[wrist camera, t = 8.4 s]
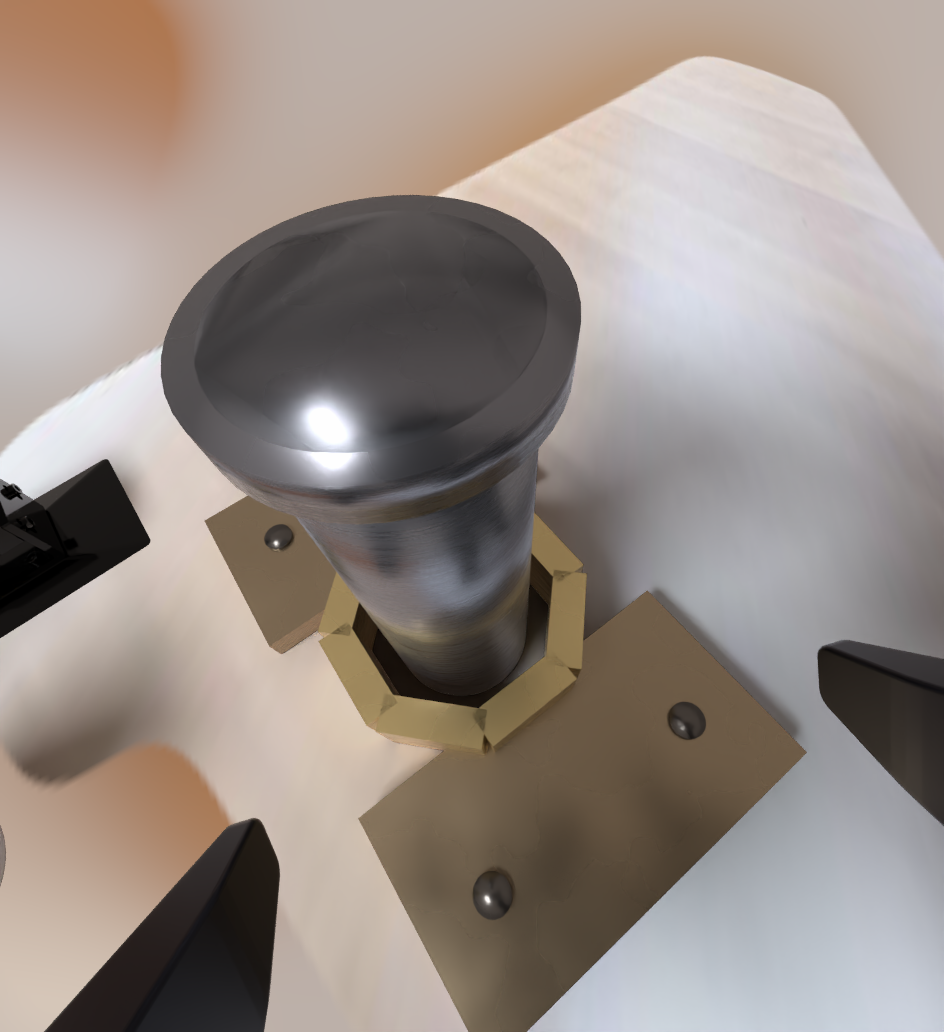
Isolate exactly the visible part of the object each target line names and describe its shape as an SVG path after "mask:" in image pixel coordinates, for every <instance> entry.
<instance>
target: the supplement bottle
mask: <svg viewBox="0 0 944 1032" xmlns="http://www.w3.org/2000/svg"><path fill="white" fill-rule="evenodd" d="M5 860H6V849H5V840H4V835H3V832H2V829H1V826H0V885H1V882H2V878H3V874H4V868H5Z"/></svg>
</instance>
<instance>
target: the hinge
mask: <svg viewBox="0 0 944 1032" xmlns="http://www.w3.org/2000/svg"><path fill="white" fill-rule="evenodd" d="M205 523H206V525H207V526H208V528H209V530H210V532H211V534H212V536H213V538H214V540H215V542H216V544H217V546H218V548H219V550H220V552H221V554H222V555H223V557H224V559H225V561H226V563H227V565H228V567H229V569H230V571H231V573H232V575H233V577H234V579H235V581H236V583H237V585H238V586H239V588H240V590H241V592H242V594H243V596H244V598H245V600H246V602H247V604H248V606H249V608H250V610H251V612H252V614H253V615H254V617H255V619H256V621H257V623H258V625H259V627H260V629H261V631H262V633H263V635H264V637H265V639H266V641H267V643H268V645H269V646H270V647H271V648H273V649H274V650H276V651H277V652H279V653H280V654H282V653H284V652H285V651H287V650H288V649H290V648H291V647H293V646H294V645H296V644H297V643H299V642H300V641H302V640H303V639H305V638H306V637H308V636H309V635H311V634H312V633H314V632H315V631H317V630H318V632H319V633H320V634H321V635H322V636H323V637H324V638H323V639H321V640H320V641H319V643H320V645H321V647H322V648H323V650H324V652H325V654H326V655H327V657H328V659H329V661H330V662H331V664H332V666H333V668H334V669H335V671H336V673H337V675H338V676H339V678H340V680H341V682H342V683H343V685H344V687H345V689H346V690H347V692H348V694H349V696H350V697H351V699H352V701H353V703H354V704H355V706H356V708H357V710H358V711H359V713H360V715H361V717H362V718H363V720H364V722H365V724H366V725H367V726H368V727H370V728H372V729H374V730H375V731H376V732H377V733H379V734H381V735H383V736H384V737H386V738H388V739H390V740H391V741H393V742H396V743H402V744H408V745H414V746H420V747H426V748H431V749H437V750H443V752H442V753H441V754H439V755H438V756H437V757H436V758H434V759H433V760H432V761H431V762H429V763H428V764H427V765H426V766H424V767H423V768H422V769H420V770H419V771H418V772H417V773H415V774H414V775H413V776H412V777H410V778H409V779H408V780H407V781H405V782H404V783H403V784H401V785H400V786H399V787H398V788H396V789H395V790H394V791H393V792H391V793H390V794H389V795H388V796H386V797H385V798H384V799H382V800H381V801H380V802H379V803H377V804H376V805H375V806H374V807H372V808H371V809H370V810H368V811H367V812H366V813H365V814H363V815H362V816H361V817H360V818H358V819H359V821H360V823H361V825H362V826H363V828H364V830H365V832H366V834H367V836H368V838H369V840H370V842H371V844H372V846H373V848H374V850H375V852H376V854H377V855H378V857H379V859H380V861H381V863H382V865H383V867H384V869H385V871H386V873H387V875H388V877H389V879H390V881H391V883H392V885H393V886H394V888H395V890H396V892H397V894H398V896H399V898H400V900H401V902H402V904H403V906H404V908H405V910H406V912H407V914H408V915H409V917H410V919H411V921H412V923H413V925H414V927H415V929H416V931H417V933H418V935H419V937H420V939H421V941H422V943H423V945H424V946H425V948H426V950H427V952H428V954H429V956H430V958H431V960H432V962H433V964H434V966H435V968H436V970H437V972H438V974H439V976H440V977H441V979H442V981H443V983H444V985H445V987H446V989H447V991H448V993H449V995H450V997H451V999H452V1001H453V1003H454V1005H455V1006H456V1008H457V1010H458V1012H459V1014H460V1016H461V1018H462V1020H463V1022H464V1024H465V1026H466V1028H467V1030H468V1032H527V1031H528V1030H529V1029H530V1028H531V1027H532V1026H533V1025H534V1024H535V1023H536V1022H537V1021H538V1020H539V1019H540V1018H541V1017H542V1016H543V1015H544V1014H545V1013H546V1012H547V1011H548V1010H549V1009H550V1008H551V1007H552V1006H553V1005H554V1004H555V1003H556V1002H557V1001H558V1000H559V999H560V998H561V997H562V996H563V995H564V994H565V993H566V992H567V991H568V990H569V989H570V988H571V987H572V986H573V985H574V984H575V983H576V982H577V981H578V980H579V979H580V978H581V977H582V976H583V975H584V974H585V973H586V972H587V971H588V970H589V969H590V968H591V967H592V966H593V965H594V964H595V963H596V962H597V961H598V960H599V959H600V958H601V957H602V956H603V955H604V954H605V953H606V952H607V951H608V950H609V949H610V948H611V947H612V946H613V945H614V944H615V943H616V942H617V941H618V940H619V939H620V938H621V937H622V936H623V935H624V934H625V933H626V932H627V931H628V930H629V929H630V928H631V927H632V926H633V925H634V924H635V923H636V922H637V921H638V920H639V919H640V918H641V917H642V916H643V915H644V914H645V913H646V912H647V911H648V910H649V909H650V908H651V907H652V906H653V905H654V904H655V903H656V902H657V901H658V900H659V899H660V898H661V897H662V896H663V895H664V894H665V893H666V892H667V891H668V890H669V889H670V888H671V887H672V886H673V885H674V884H675V883H676V882H677V881H678V880H679V879H680V878H681V877H682V876H683V875H684V874H685V873H686V872H687V871H688V870H689V869H690V868H691V867H692V866H693V865H694V864H695V863H696V862H697V861H698V860H699V859H701V858H702V857H703V856H704V855H705V854H706V853H707V852H708V851H709V850H710V849H711V848H712V847H713V846H714V845H715V844H716V843H717V842H718V841H719V840H720V839H721V838H722V837H723V836H724V835H725V834H726V833H727V832H728V831H729V830H730V829H731V828H732V827H733V826H734V825H735V824H736V823H737V822H738V821H739V820H740V819H741V818H742V817H743V816H744V815H745V814H746V813H747V812H748V811H749V810H750V809H751V808H752V807H753V806H754V805H755V804H756V803H757V802H758V801H759V800H760V799H761V798H762V797H763V796H764V795H765V794H766V793H767V792H768V791H769V790H770V789H771V788H772V787H773V786H774V785H775V784H776V783H777V782H778V781H779V780H780V779H781V778H782V777H783V776H784V775H785V774H786V773H787V772H788V771H789V770H790V769H791V768H792V767H793V766H794V765H795V764H796V763H797V762H798V761H799V760H800V759H801V758H802V757H803V756H804V755H805V754H806V753H807V752H806V751H805V750H804V749H803V748H802V747H801V746H800V745H799V744H798V743H797V742H796V741H795V740H794V739H793V738H792V737H791V736H790V735H789V734H788V733H787V732H786V731H785V730H784V729H783V728H782V727H781V726H780V725H779V724H778V723H777V722H776V721H775V720H774V719H773V718H772V716H771V715H770V714H769V713H768V712H767V711H766V710H765V709H764V708H763V707H762V706H761V705H760V704H759V703H758V702H757V701H756V700H755V699H754V698H753V697H752V696H751V695H750V694H749V693H748V692H747V691H746V690H745V689H744V688H743V687H742V686H741V685H740V684H739V683H738V682H737V681H736V680H735V679H734V678H733V677H732V676H731V675H730V674H729V673H728V672H727V671H726V670H725V669H724V668H723V667H722V666H721V665H720V664H719V663H718V662H717V661H716V660H715V659H714V658H713V657H712V656H711V655H710V654H709V653H708V652H707V651H706V650H705V649H704V648H703V646H702V645H701V644H700V643H699V642H698V641H697V640H696V639H695V638H694V637H693V636H692V635H691V634H690V633H689V632H688V631H687V630H686V629H685V628H684V627H683V626H682V625H681V624H680V623H679V622H678V621H677V620H676V619H675V618H674V617H673V616H672V615H671V614H670V613H669V612H668V611H667V610H666V609H665V608H664V607H663V606H662V605H661V604H660V603H659V602H658V601H657V600H656V599H655V598H654V597H653V596H652V595H651V594H650V593H649V592H648V591H646V592H645V593H644V594H642V595H641V596H640V597H639V598H637V599H636V600H635V601H633V602H632V603H631V604H630V605H628V606H627V607H626V608H625V609H623V610H622V611H621V612H620V613H618V614H617V615H616V616H614V617H613V618H612V619H611V620H609V621H608V622H607V623H606V624H604V625H603V626H602V627H600V628H599V629H598V630H597V631H595V632H594V633H593V634H592V635H590V636H589V637H588V638H587V639H585V640H584V641H583V633H584V615H585V597H586V579H587V574H586V573H581V572H582V569H583V564H582V563H581V561H580V560H579V559H578V558H577V557H576V556H575V555H574V554H573V553H572V552H571V551H570V550H569V549H568V548H567V547H566V546H565V544H564V543H563V542H562V541H561V540H560V539H559V538H558V537H557V536H556V535H555V534H554V533H553V532H552V531H551V530H550V529H549V527H548V526H547V525H546V524H545V523H544V522H543V521H542V520H541V519H540V518H539V517H538V516H537V515H536V514H535V513H534V522H533V537H532V552H531V567H530V582H529V583H530V584H531V585H532V586H533V588H534V589H535V590H536V591H537V592H538V593H539V595H540V596H541V597H542V598H543V599H544V600H545V602H546V603H547V604H548V605H549V606H548V617H547V628H546V639H545V650H544V657H543V658H542V659H541V660H540V661H538V662H537V663H536V664H534V665H533V666H532V667H531V668H529V669H528V670H527V671H525V672H524V673H523V674H522V675H520V676H519V677H518V678H517V679H515V680H514V681H513V682H511V683H510V684H509V685H508V686H506V687H505V688H504V689H502V690H501V691H500V692H499V693H497V694H496V695H495V696H493V697H492V698H491V699H490V700H488V701H487V702H486V703H484V704H483V705H482V706H481V707H479V708H473V707H467V706H461V705H454V704H448V703H442V702H435V701H429V700H423V699H416V698H410V697H403V696H400V695H399V693H398V692H397V690H396V688H395V687H394V685H393V684H392V682H391V680H390V679H389V677H388V676H387V674H386V672H385V671H384V669H383V668H382V666H381V664H380V663H379V661H378V660H377V658H376V656H375V655H374V653H373V652H372V649H373V645H374V641H375V637H376V633H377V629H378V627H377V625H376V624H375V623H374V621H373V620H372V619H371V617H370V616H369V615H368V613H367V612H366V611H365V609H364V608H363V607H362V605H361V604H360V602H359V601H358V600H357V598H356V597H355V596H354V594H353V593H352V592H351V590H350V589H349V588H348V586H347V585H346V584H345V582H344V581H343V580H342V578H341V577H340V576H339V574H338V573H337V572H336V570H335V569H334V568H333V566H332V565H331V564H330V562H329V561H328V560H327V558H326V557H325V556H324V554H323V553H322V552H321V550H320V549H319V547H318V546H317V545H316V543H315V542H314V541H313V539H312V538H311V537H310V535H309V534H308V533H307V531H306V530H305V529H304V527H303V526H302V525H301V523H300V522H299V521H298V519H297V518H296V517H295V516H293V515H289V514H286V513H283V512H280V511H277V510H275V509H273V508H271V507H268V506H266V505H264V504H262V503H260V502H258V501H256V500H254V499H253V498H251V497H250V496H247V497H245V498H243V499H241V500H240V501H238V502H236V503H234V504H233V505H231V506H229V507H228V508H226V509H224V510H222V511H221V512H219V513H217V514H215V515H214V516H212V517H210V518H208V519H207V520H205Z"/></svg>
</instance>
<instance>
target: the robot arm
mask: <svg viewBox="0 0 944 1032" xmlns="http://www.w3.org/2000/svg"><path fill="white" fill-rule="evenodd" d="M818 674H819V689H820V694H821V697H822V699H823V701H824V702H825V704H826V705H827V706H828V708H829V709H830V710H831V711H832V712H833V713H834V714H835V715H836V716H837V717H838V719H839V720H840V721H841V722H842V723H843V724H844V725H845V726H846V727H847V728H848V729H849V730H850V731H851V733H852V734H853V735H854V736H855V737H856V738H857V739H858V740H859V741H860V742H861V743H862V744H863V746H864V747H865V748H866V749H867V750H868V751H869V752H870V753H871V754H872V755H873V756H874V757H875V759H876V760H877V761H878V762H879V763H880V764H881V765H882V766H883V767H884V768H885V769H886V770H887V771H888V773H889V774H890V775H891V776H892V777H893V778H894V779H895V780H896V781H897V782H898V783H899V784H900V785H901V786H902V787H903V788H904V789H905V790H906V791H907V792H908V793H909V794H910V795H911V796H912V797H913V798H914V799H915V800H916V801H917V802H918V803H919V804H920V805H921V806H922V807H924V808H925V809H926V810H927V811H928V812H929V813H930V814H931V815H932V816H933V817H934V818H936V819H937V820H938V821H939V822H940V823H941V824H942V825H943V826H944V659H941V658H936V657H931V656H926V655H921V654H916V653H910V652H905V651H900V650H895V649H890V648H885V647H880V646H875V645H870V644H865V643H860V642H855V641H850V640H841V641H838V642H834V643H831V644H828V645H824V646H822V647H821V648H820V649H819V651H818ZM279 881H280V869H279V863H278V859H277V856H276V854H275V852H274V849H273V847H272V845H271V842H270V840H269V837H268V835H267V833H266V830H265V828H264V825H263V824H262V822H261V821H260V820H259V819H257V818H251V819H248V820H245V821H241V822H238V823H235V824H232V825H230V826H228V827H227V828H226V829H225V830H224V831H223V832H222V833H221V835H220V836H219V837H218V838H217V839H216V840H215V841H214V842H213V843H212V845H211V846H210V847H209V848H208V849H207V850H206V851H205V852H204V854H203V855H202V856H201V857H200V858H199V859H198V860H197V861H196V862H195V864H194V865H193V866H192V867H191V868H190V869H189V870H188V872H186V874H185V875H184V876H183V877H182V878H181V879H180V880H179V881H178V883H177V884H176V885H175V886H174V887H173V888H172V889H171V891H170V892H169V893H168V894H167V895H166V896H165V897H164V898H163V899H162V900H161V902H160V903H159V904H158V905H157V906H156V907H155V908H154V909H153V911H152V912H151V913H150V914H149V915H148V916H147V917H146V919H144V921H143V922H142V923H141V924H140V925H139V926H138V927H137V928H136V930H135V931H134V932H133V933H132V934H131V935H130V936H129V938H128V939H127V940H126V941H125V942H124V943H123V944H122V945H121V946H120V947H119V949H118V950H117V951H116V952H115V953H114V954H113V955H112V956H111V958H110V959H109V960H108V961H107V962H106V963H105V964H104V965H103V967H102V968H101V969H100V970H99V971H98V972H97V973H96V974H95V976H94V977H93V978H92V979H91V980H90V981H89V982H88V983H87V985H86V986H85V987H84V988H83V989H82V990H81V991H80V992H79V994H77V996H76V997H75V998H74V999H73V1000H72V1001H71V1002H70V1004H69V1005H68V1006H67V1007H66V1008H65V1009H64V1010H63V1011H62V1012H61V1014H60V1015H59V1016H58V1017H57V1018H56V1019H55V1020H54V1021H53V1023H52V1024H51V1025H50V1026H49V1027H48V1028H47V1029H46V1030H45V1031H44V1032H264V1028H265V1022H266V1015H267V1009H268V1002H269V993H270V984H271V973H272V961H273V950H274V939H275V927H276V914H277V904H278V892H279Z"/></svg>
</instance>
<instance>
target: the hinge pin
mask: <svg viewBox="0 0 944 1032" xmlns="http://www.w3.org/2000/svg"><path fill="white" fill-rule="evenodd" d="M580 325H581V302H580V297H579V293H578V288H577V284H576V282H575V279H574V277H573V275H572V272H571V270H570V268H569V266H568V265H567V263H566V262H565V260H564V259H563V257H562V256H561V254H560V253H559V252H558V251H557V250H556V249H555V248H554V247H553V246H552V245H551V243H550V242H549V241H548V240H547V239H545V238H544V237H543V236H542V235H540V234H539V233H538V232H537V231H535V230H534V229H533V228H531V227H530V226H528V225H526V224H524V223H523V222H521V221H519V220H518V219H516V218H514V217H512V216H510V215H507V214H505V213H503V212H501V211H498V210H496V209H493V208H489V207H486V206H483V205H480V204H477V203H472V202H468V201H463V200H459V199H453V198H445V197H438V196H421V195H399V196H398V195H397V196H384V197H372V198H365V199H359V200H354V201H347V202H343V203H339V204H335V205H331V206H327V207H323V208H320V209H317V210H314V211H311V212H307V213H304V214H302V215H299V216H297V217H294V218H292V219H289V220H287V221H284V222H282V223H280V224H278V225H276V226H274V227H272V228H270V229H268V230H265V231H263V232H262V233H260V234H258V235H256V236H255V237H253V238H251V239H250V240H248V241H246V242H245V243H243V244H241V245H240V246H239V247H237V248H236V249H234V250H233V251H232V252H230V253H229V254H228V255H226V256H225V257H224V258H222V259H221V260H220V261H219V262H218V263H217V264H215V265H214V266H213V267H212V268H211V269H210V270H208V272H207V273H206V274H205V275H204V276H203V277H202V278H201V279H200V280H199V281H198V282H197V283H196V284H195V285H194V287H193V288H192V289H191V291H190V292H189V293H188V295H187V296H186V297H185V299H184V300H183V301H182V303H181V304H180V306H179V308H178V310H177V312H176V313H175V315H174V317H173V319H172V321H171V323H170V326H169V329H168V331H167V334H166V337H165V340H164V345H163V350H162V355H161V378H162V384H163V389H164V394H165V397H166V399H167V401H168V404H169V406H170V408H171V411H172V413H173V415H174V416H175V417H176V419H177V420H178V422H179V423H180V425H181V426H182V428H183V429H184V430H185V432H186V433H187V434H188V435H189V436H190V437H191V438H192V440H193V441H194V442H195V443H196V444H197V445H198V447H199V448H200V449H201V450H202V451H203V452H204V453H205V455H206V456H207V457H208V458H209V459H210V460H211V462H212V463H213V464H214V465H215V466H216V467H217V468H218V470H219V471H220V472H221V473H222V474H223V475H224V476H225V477H226V478H227V479H228V480H229V481H230V482H231V483H232V484H233V485H234V486H235V487H237V488H238V489H240V490H241V491H243V492H244V493H245V494H247V495H248V496H250V497H251V498H253V499H254V500H256V501H258V502H260V503H262V504H264V505H266V506H268V507H271V508H273V509H275V510H277V511H280V512H283V513H286V514H289V515H293V516H295V517H296V518H297V519H298V521H299V522H300V523H301V525H302V526H303V527H304V529H305V530H306V531H307V533H308V534H309V535H310V537H311V538H312V539H313V541H314V542H315V543H316V545H317V546H318V547H319V549H320V550H321V552H322V553H323V554H324V556H325V557H326V558H327V560H328V561H329V562H330V564H331V565H332V566H333V568H334V569H335V570H336V572H337V573H338V574H339V576H340V577H341V578H342V580H343V581H344V582H345V584H346V585H347V586H348V588H349V589H350V590H351V592H352V593H353V594H354V596H355V597H356V598H357V600H358V601H359V602H360V604H361V605H362V607H363V608H364V609H365V611H366V612H367V613H368V615H369V616H370V617H371V619H372V620H373V621H374V623H375V624H376V625H377V627H378V628H379V629H380V631H381V632H382V633H383V635H384V636H385V637H386V639H387V640H388V641H389V643H390V644H391V645H392V647H393V648H394V649H395V651H396V652H397V653H398V655H399V656H400V657H401V659H402V660H403V662H404V663H405V664H406V666H407V667H408V668H409V670H410V671H411V672H412V674H413V675H414V676H415V677H416V678H417V679H418V680H419V681H420V682H422V683H423V684H424V685H426V686H427V687H429V688H431V689H433V690H435V691H438V692H440V693H443V694H448V695H455V696H466V695H473V694H478V693H481V692H484V691H486V690H488V689H490V688H492V687H494V686H496V685H497V684H499V683H500V682H501V681H503V680H504V679H505V678H506V677H507V676H508V675H509V674H510V673H511V671H512V670H513V669H514V668H515V666H516V664H517V663H518V661H519V659H520V657H521V655H522V652H523V649H524V645H525V640H526V628H527V613H528V597H529V582H530V567H531V552H532V537H533V522H534V507H535V492H536V477H537V462H538V448H539V447H540V446H541V444H542V443H543V442H544V440H545V439H546V438H547V437H548V435H549V434H550V433H551V431H552V430H553V428H554V427H555V425H556V423H557V421H558V420H559V418H560V416H561V414H562V412H563V411H564V408H565V405H566V403H567V400H568V397H569V394H570V392H571V387H572V381H573V376H574V369H575V362H576V355H577V347H578V340H579V333H580Z"/></svg>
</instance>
